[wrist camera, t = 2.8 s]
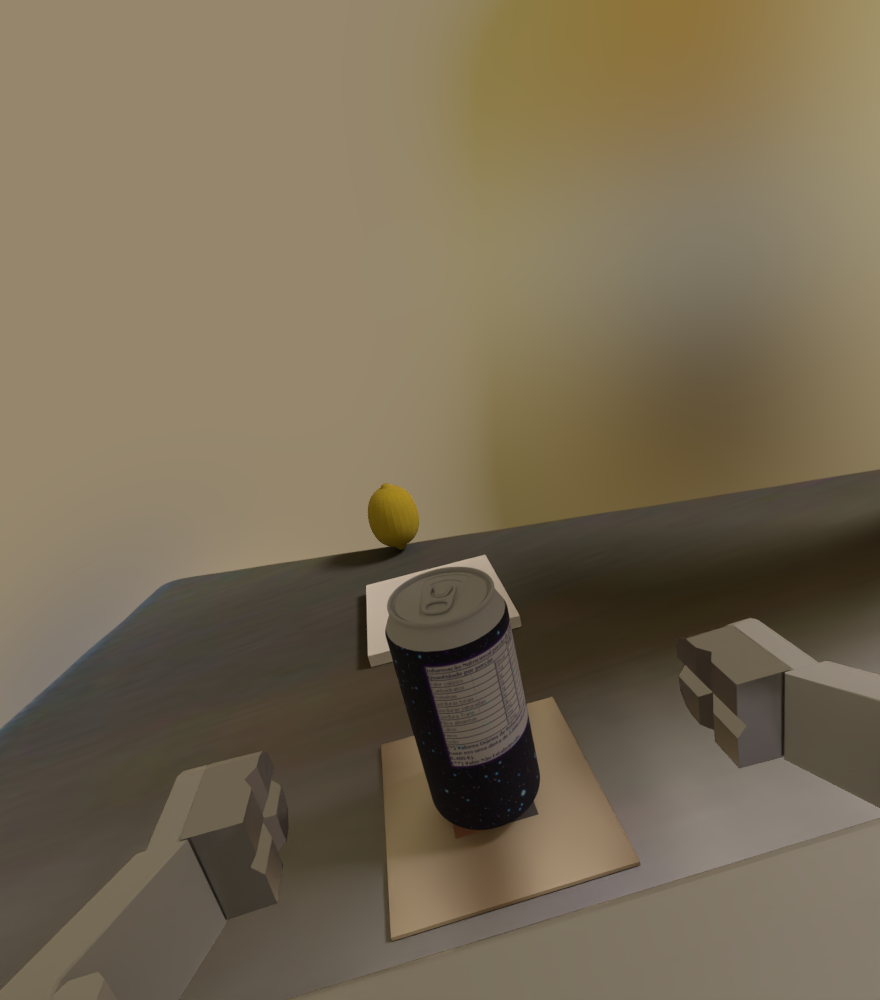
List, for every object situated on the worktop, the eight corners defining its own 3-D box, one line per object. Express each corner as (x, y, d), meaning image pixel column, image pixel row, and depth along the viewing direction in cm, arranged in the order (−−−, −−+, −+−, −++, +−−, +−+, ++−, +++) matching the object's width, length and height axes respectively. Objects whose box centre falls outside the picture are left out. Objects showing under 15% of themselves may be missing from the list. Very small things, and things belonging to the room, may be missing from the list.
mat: (486, 563, 53) (485, 554, 52) (521, 626, 41) (519, 615, 41) (368, 594, 52) (366, 585, 52) (371, 667, 41) (367, 656, 40)
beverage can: (543, 748, 30) (506, 556, 26) (542, 846, 24) (496, 623, 21) (445, 750, 31) (396, 568, 27) (424, 842, 26) (361, 633, 22)
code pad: (552, 699, 33) (552, 696, 33) (640, 864, 23) (639, 861, 23) (381, 747, 33) (380, 744, 32) (392, 941, 22) (390, 937, 22)
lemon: (431, 537, 62) (416, 472, 60) (416, 559, 57) (398, 490, 55) (388, 540, 64) (372, 478, 62) (370, 561, 59) (351, 495, 57)
